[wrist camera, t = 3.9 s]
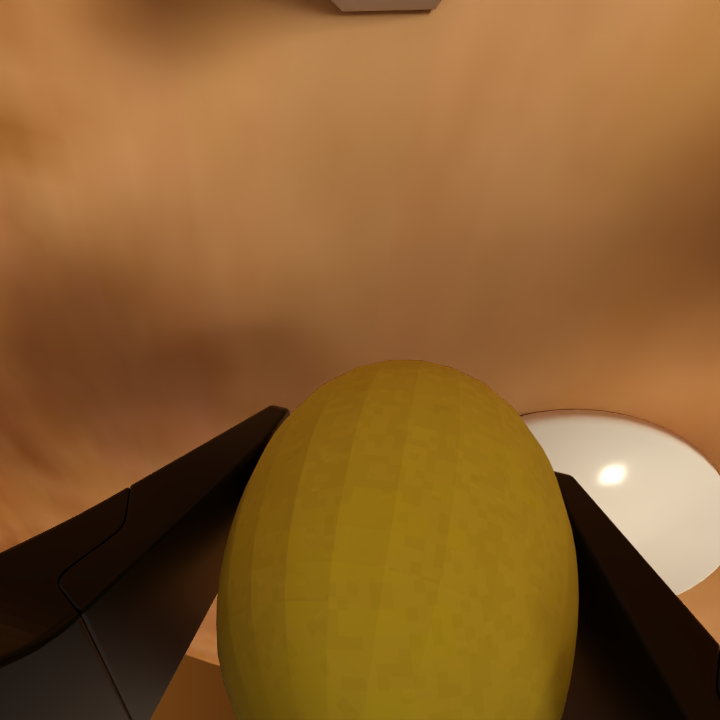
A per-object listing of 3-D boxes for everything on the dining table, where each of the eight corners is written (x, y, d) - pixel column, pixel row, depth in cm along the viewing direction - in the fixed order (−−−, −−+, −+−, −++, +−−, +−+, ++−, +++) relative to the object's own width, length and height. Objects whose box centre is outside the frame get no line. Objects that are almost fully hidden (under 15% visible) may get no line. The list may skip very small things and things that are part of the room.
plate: (799, 451, 17) (816, 469, 16) (639, 620, 25) (646, 638, 24) (462, 379, 19) (462, 392, 18) (408, 558, 26) (406, 573, 26)
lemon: (444, 504, 12) (421, 963, 6) (285, 410, 12) (52, 797, 5) (589, 382, 9) (890, 1047, 3) (385, 249, 9) (141, 675, 2)
